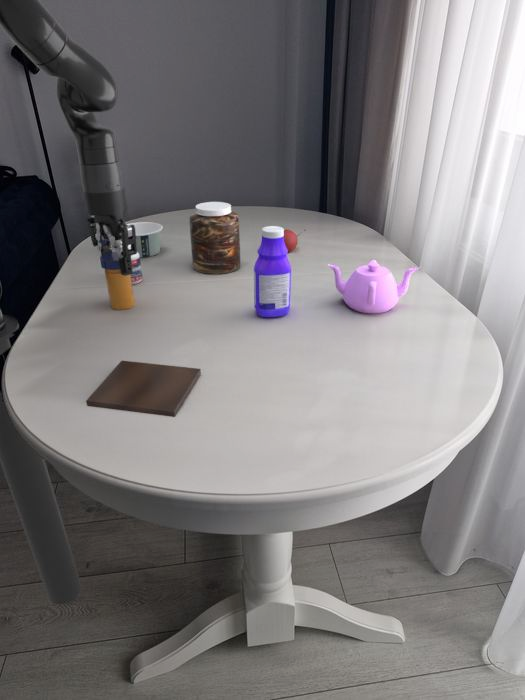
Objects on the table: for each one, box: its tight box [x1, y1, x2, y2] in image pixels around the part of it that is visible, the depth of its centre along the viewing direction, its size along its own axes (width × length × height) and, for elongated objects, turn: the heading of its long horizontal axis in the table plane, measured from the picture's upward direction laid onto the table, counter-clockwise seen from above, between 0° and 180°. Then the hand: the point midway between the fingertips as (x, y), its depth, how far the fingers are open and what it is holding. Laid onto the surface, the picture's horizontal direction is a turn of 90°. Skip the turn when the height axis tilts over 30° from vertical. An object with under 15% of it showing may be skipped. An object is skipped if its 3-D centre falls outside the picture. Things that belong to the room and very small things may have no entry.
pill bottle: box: [120, 245, 143, 285], centre depth 118 cm, size 5×5×9 cm
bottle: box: [253, 225, 292, 318], centre depth 100 cm, size 7×6×17 cm
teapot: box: [327, 259, 419, 314], centre depth 105 cm, size 12×14×9 cm
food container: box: [120, 221, 164, 259], centre depth 137 cm, size 12×12×6 cm
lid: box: [99, 251, 132, 270], centre depth 104 cm, size 6×6×2 cm
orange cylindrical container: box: [104, 269, 136, 311], centre depth 106 cm, size 5×5×10 cm
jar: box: [189, 201, 241, 275], centre depth 124 cm, size 12×12×15 cm
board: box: [85, 360, 202, 418], centre depth 80 cm, size 14×12×1 cm
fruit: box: [284, 229, 306, 253], centre depth 137 cm, size 6×6×8 cm
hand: (118, 270), depth 105 cm, fingers closed on lid, 6 cm apart
